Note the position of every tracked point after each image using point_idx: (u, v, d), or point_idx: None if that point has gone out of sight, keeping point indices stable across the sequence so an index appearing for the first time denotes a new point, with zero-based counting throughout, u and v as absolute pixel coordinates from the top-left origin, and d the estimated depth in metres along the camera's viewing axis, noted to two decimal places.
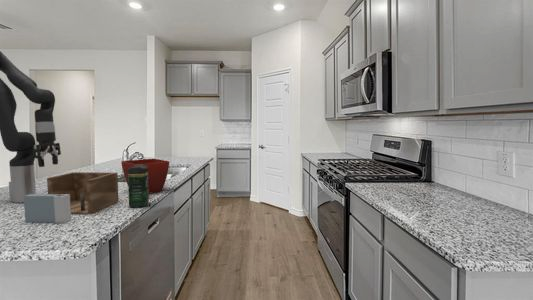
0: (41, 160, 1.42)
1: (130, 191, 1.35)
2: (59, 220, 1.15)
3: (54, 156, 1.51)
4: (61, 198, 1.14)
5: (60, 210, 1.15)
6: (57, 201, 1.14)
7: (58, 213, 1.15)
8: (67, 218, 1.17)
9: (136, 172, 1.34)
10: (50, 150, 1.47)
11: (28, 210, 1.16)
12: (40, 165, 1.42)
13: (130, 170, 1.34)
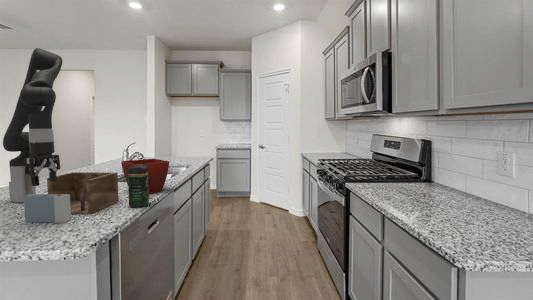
0: (35, 178, 1.11)
1: (130, 191, 1.35)
2: (59, 220, 1.15)
3: (52, 171, 1.20)
4: (61, 198, 1.14)
5: (60, 210, 1.15)
6: (57, 201, 1.14)
7: (58, 213, 1.15)
8: (67, 218, 1.17)
9: (136, 172, 1.34)
10: (47, 164, 1.16)
11: (28, 210, 1.16)
12: (34, 184, 1.11)
13: (130, 170, 1.34)
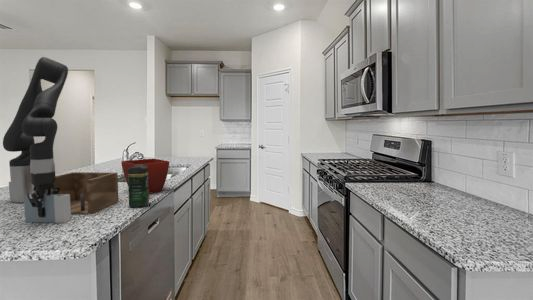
0: (42, 209, 1.14)
1: (130, 191, 1.35)
2: (59, 220, 1.15)
3: None
4: (61, 198, 1.14)
5: (60, 210, 1.15)
6: (57, 201, 1.14)
7: (58, 213, 1.15)
8: (67, 218, 1.17)
9: (136, 172, 1.34)
10: (46, 193, 1.16)
11: (28, 210, 1.16)
12: (40, 215, 1.14)
13: (130, 170, 1.34)
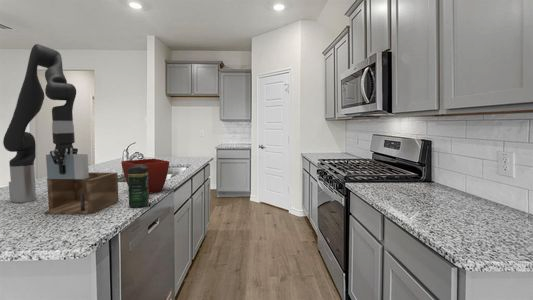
0: (62, 167, 1.25)
1: (130, 191, 1.35)
2: (78, 176, 1.26)
3: None
4: (81, 156, 1.25)
5: (79, 167, 1.25)
6: (77, 159, 1.25)
7: (78, 170, 1.26)
8: (85, 175, 1.27)
9: (136, 172, 1.34)
10: (66, 152, 1.27)
11: (50, 168, 1.26)
12: (61, 172, 1.25)
13: (130, 170, 1.34)
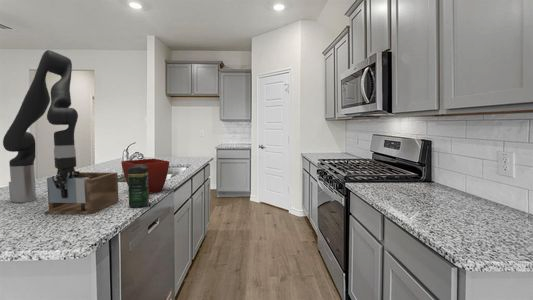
0: (64, 191, 1.26)
1: (130, 191, 1.35)
2: (80, 200, 1.27)
3: None
4: (82, 181, 1.26)
5: (81, 191, 1.26)
6: (78, 183, 1.26)
7: (80, 194, 1.27)
8: None
9: (136, 172, 1.34)
10: (68, 176, 1.28)
11: (52, 192, 1.27)
12: (63, 196, 1.26)
13: (130, 170, 1.34)
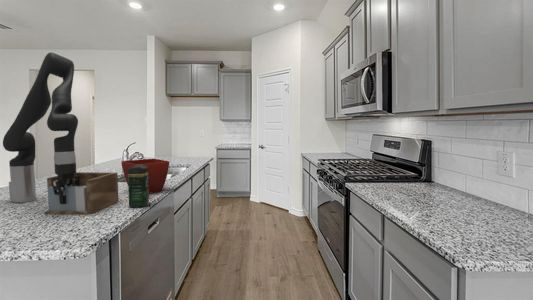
0: (63, 197, 1.25)
1: (130, 191, 1.35)
2: (79, 209, 1.27)
3: None
4: (82, 189, 1.26)
5: (81, 200, 1.26)
6: (78, 192, 1.26)
7: (79, 203, 1.27)
8: (87, 207, 1.28)
9: (136, 172, 1.34)
10: (69, 183, 1.28)
11: (51, 200, 1.27)
12: (61, 203, 1.25)
13: (130, 170, 1.34)
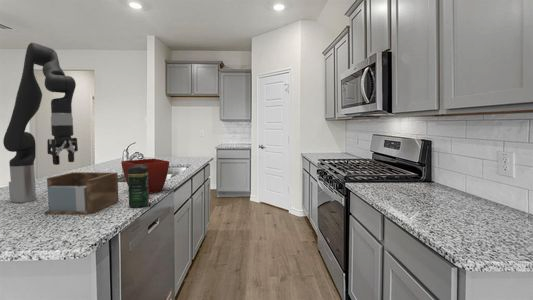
0: (56, 157, 1.23)
1: (130, 191, 1.35)
2: (79, 209, 1.27)
3: (70, 153, 1.32)
4: (82, 189, 1.26)
5: (81, 200, 1.27)
6: (78, 192, 1.26)
7: (79, 203, 1.27)
8: (87, 207, 1.28)
9: (136, 172, 1.34)
10: (66, 146, 1.28)
11: (51, 200, 1.27)
12: (55, 163, 1.23)
13: (130, 170, 1.34)
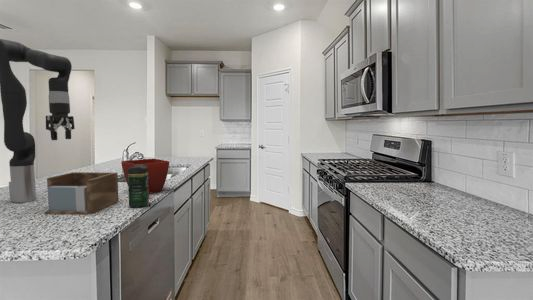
0: (54, 133, 1.30)
1: (130, 191, 1.35)
2: (79, 209, 1.27)
3: (67, 130, 1.39)
4: (82, 189, 1.26)
5: (81, 200, 1.27)
6: (78, 192, 1.26)
7: (79, 203, 1.27)
8: (87, 207, 1.28)
9: (136, 172, 1.34)
10: (64, 123, 1.35)
11: (51, 200, 1.27)
12: (53, 138, 1.30)
13: (130, 170, 1.34)
